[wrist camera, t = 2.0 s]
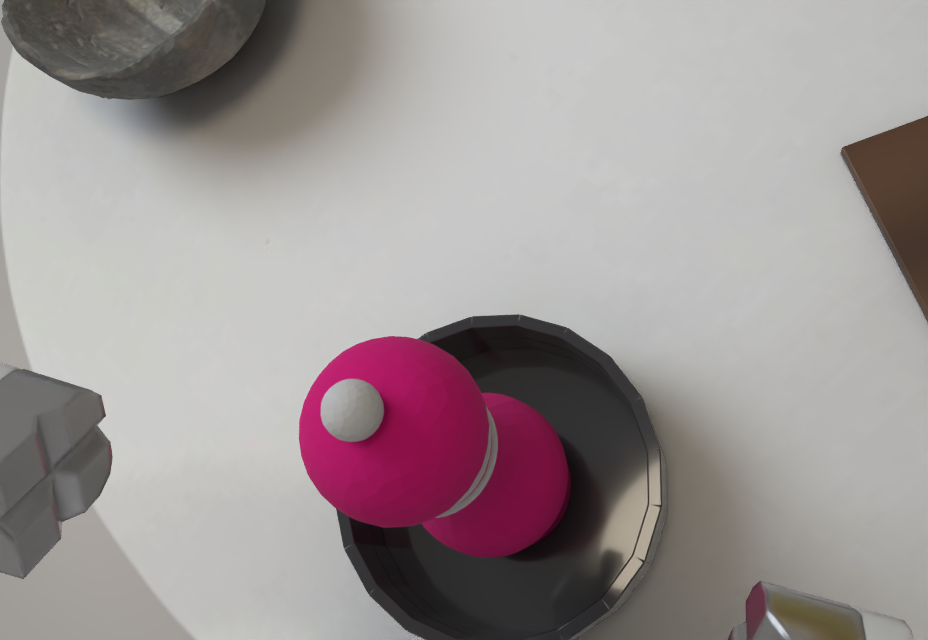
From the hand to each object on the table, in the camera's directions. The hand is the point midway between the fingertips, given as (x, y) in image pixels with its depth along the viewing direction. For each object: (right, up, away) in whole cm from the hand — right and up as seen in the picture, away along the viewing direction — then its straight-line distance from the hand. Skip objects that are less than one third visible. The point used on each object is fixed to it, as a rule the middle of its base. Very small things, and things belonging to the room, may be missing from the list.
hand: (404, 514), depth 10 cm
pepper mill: (+3, -6, +30) cm, 31 cm away
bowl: (-18, +23, +47) cm, 55 cm away
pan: (+3, -6, +31) cm, 31 cm away
